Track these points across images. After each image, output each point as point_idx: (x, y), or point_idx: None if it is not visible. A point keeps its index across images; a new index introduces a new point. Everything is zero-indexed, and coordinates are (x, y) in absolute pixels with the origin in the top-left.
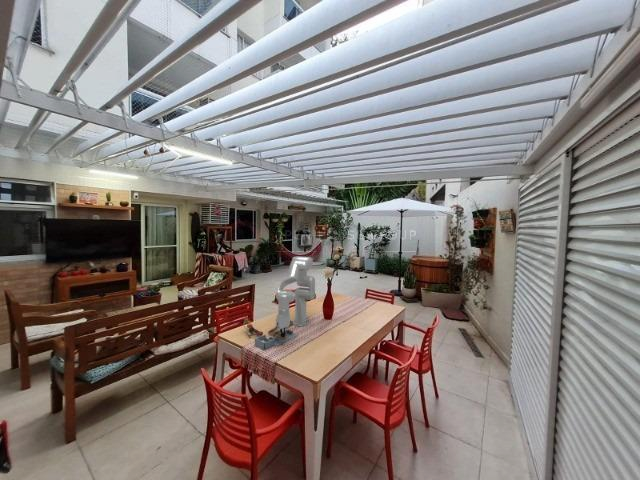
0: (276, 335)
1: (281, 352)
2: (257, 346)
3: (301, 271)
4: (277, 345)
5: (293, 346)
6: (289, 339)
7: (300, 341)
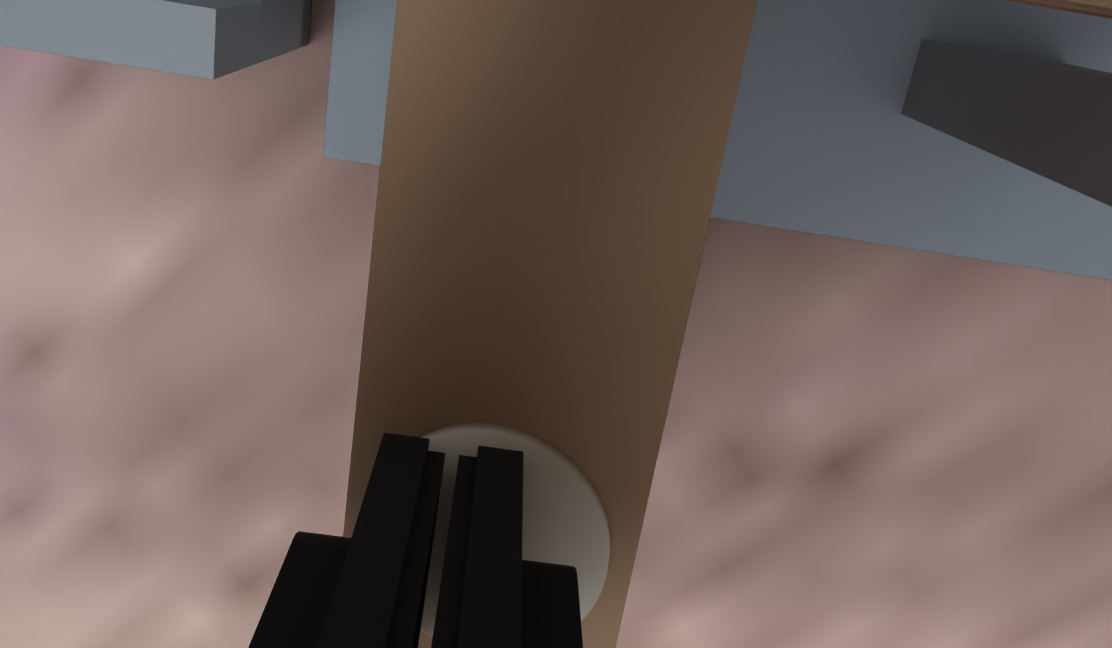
0: (417, 42)
1: (120, 555)
2: None
3: None
4: (369, 161)
5: (669, 634)
6: (1041, 268)
7: (1095, 630)
